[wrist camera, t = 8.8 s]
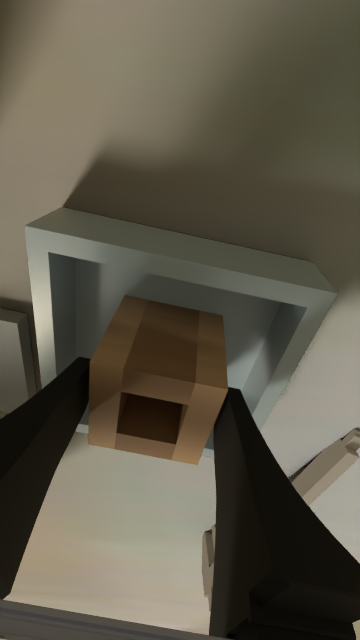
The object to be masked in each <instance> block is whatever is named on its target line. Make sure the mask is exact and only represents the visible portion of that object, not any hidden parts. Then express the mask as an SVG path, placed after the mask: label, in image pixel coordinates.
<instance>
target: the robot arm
mask: <svg viewBox="0 0 360 640" xmlns="http://www.w3.org/2000/svg"><path fill="white" fill-rule="evenodd" d="M90 360H91V359H89V358H84V357H78V358H76V359H75V360H74V361H73V362H72V363H71V364H70V365H69V366H68V367H67V368H66V369H65V370H64V371H62V372H61V373H60V374H59V375H58V376H57V377H56V378H55V379H53V380H52V381H51V382H50V383H49V384H47V385H46V386H45V387H44V388H43V389H41V390H40V391H39V392H38V393H36V394H35V395H34V396H32V397H31V398H30V399H28V400H27V401H26V402H24V403H23V404H22V405H20V406H19V407H18V408H16V409H15V410H13V411H12V412H10V413H9V414H7V415H6V416H4V417H3V418H1V419H0V638H1V639H7V640H356V634H355V631H354V628H353V624H352V623H353V622H355V621H357V620H360V564H359V563H358V561H357V560H356V559H355V558H354V557H353V556H352V555H351V554H350V553H349V552H348V551H347V550H346V549H345V548H344V547H343V546H342V545H341V543H340V542H339V541H338V540H337V539H336V538H335V537H334V536H333V535H332V534H331V533H330V531H329V530H328V529H327V528H326V527H325V526H324V524H323V523H322V522H321V521H320V520H319V519H318V517H317V516H316V515H315V514H314V512H313V511H312V510H311V509H310V507H309V506H308V505H307V504H306V502H305V501H304V500H303V498H302V497H301V496H300V495H299V493H298V492H297V491H296V489H295V488H294V486H293V485H292V484H291V482H290V481H289V479H288V478H287V476H286V475H285V473H284V472H283V470H282V469H281V467H280V466H279V464H278V463H277V461H276V459H275V458H274V456H273V454H272V453H271V451H270V449H269V447H268V446H267V444H266V442H265V440H264V438H263V437H262V435H261V433H260V431H259V429H258V427H257V425H256V423H255V421H254V419H253V417H252V415H251V412H250V410H249V408H248V406H247V404H246V401H245V399H244V397H243V394H242V392H241V390H240V389H237V388H232V387H228V392H227V394H226V397H225V399H224V401H223V404H222V406H221V409H220V411H219V413H218V416H217V418H216V421H215V423H214V431H213V445H214V462H215V478H216V532H215V555H214V572H213V588H212V601H211V615H210V627H209V635H203V634H197V633H191V632H186V631H180V630H174V629H168V628H163V627H157V626H151V625H145V624H139V623H134V622H128V621H122V620H116V619H110V618H105V617H99V616H93V615H87V614H82V613H76V612H70V611H64V610H58V609H53V608H47V607H41V606H35V605H30V604H24V603H18V602H12V601H6V600H2V599H4V598H5V597H6V596H7V595H8V594H10V592H11V589H12V586H13V583H14V580H15V577H16V574H17V572H18V569H19V566H20V563H21V560H22V557H23V554H24V552H25V549H26V546H27V543H28V541H29V538H30V535H31V532H32V530H33V527H34V524H35V522H36V519H37V516H38V514H39V511H40V509H41V506H42V503H43V501H44V498H45V496H46V493H47V490H48V488H49V485H50V483H51V480H52V478H53V475H54V473H55V471H56V468H57V466H58V464H59V462H60V460H61V458H62V456H63V454H64V452H65V450H66V448H67V446H68V444H69V442H70V440H71V438H72V436H73V434H74V432H75V430H76V428H77V426H78V424H79V422H80V420H81V418H82V416H83V414H84V412H85V410H86V407H87V404H88V402H89V374H90Z"/></svg>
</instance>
